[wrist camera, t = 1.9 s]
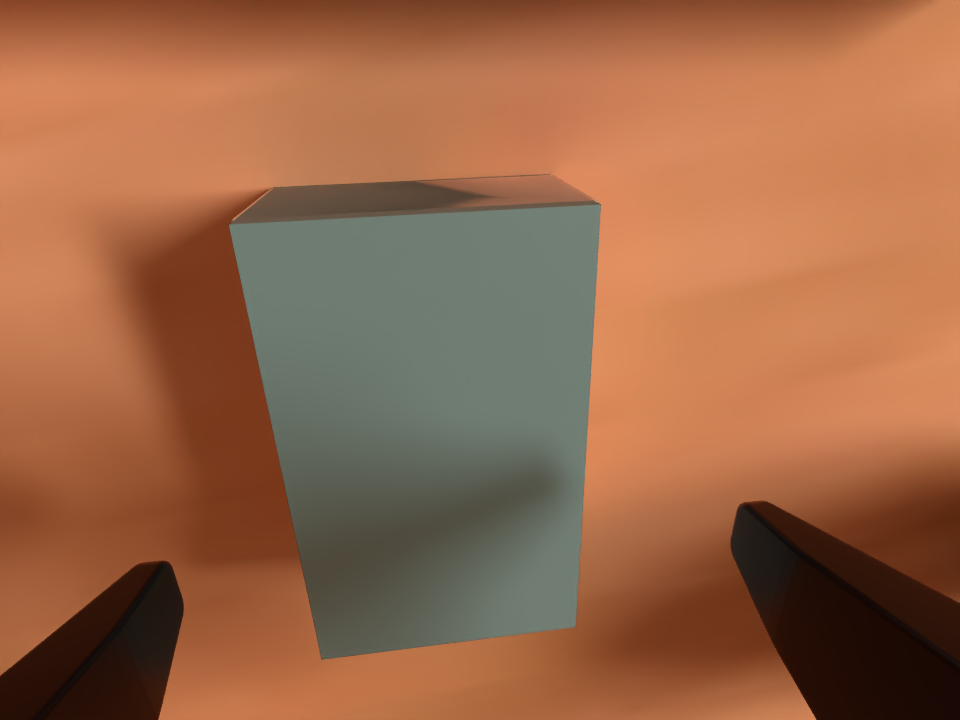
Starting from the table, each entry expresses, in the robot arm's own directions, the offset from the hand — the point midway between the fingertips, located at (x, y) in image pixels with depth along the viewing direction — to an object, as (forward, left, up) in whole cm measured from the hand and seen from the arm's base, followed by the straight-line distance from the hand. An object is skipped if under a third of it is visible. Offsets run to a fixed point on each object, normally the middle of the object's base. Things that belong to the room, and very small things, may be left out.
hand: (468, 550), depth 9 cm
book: (0, 0, -6) cm, 7 cm away
